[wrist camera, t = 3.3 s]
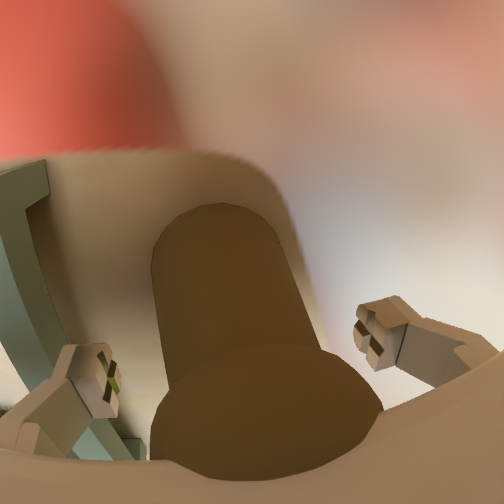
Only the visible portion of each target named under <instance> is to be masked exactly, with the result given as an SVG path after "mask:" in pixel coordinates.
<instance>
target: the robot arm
mask: <svg viewBox="0 0 504 504" xmlns="http://www.w3.org/2000/svg"><path fill="white" fill-rule="evenodd" d="M356 316H357V317H358V319H359V320H358V321H357V323H356V324H355V325H354V331H353V336H354V342H355V344H356V346H357V348H358V349H359V351H361V352H363V353H365V354H367V355H366V360H367V362H368V363H369V364H370V366H371V367H372V368H373V370H374V371H375V372H376V371H379V370H382V369H386V368H389V367H392V366H395V365H396V367H398V368H399V369H402V370H403V371H405V372H407V373H409V374H410V375H412V376H414V377H416V378H418V379H420V380H421V381H423V382H425V383H427V384H429V385H431V386H433V387H435V389H433V390H431V391H429V392H427V393H425V394H422V395H421V396H418V397H416V398H414V399H411V400H409V401H407V402H404V403H402V404H400V405H397V406H395V407H393V408H390V409H388V410H385V411H382V412H380V413H379V414H378V416H377V419H376V421H375V423H374V424H373V426H372V428H371V429H370V431H369V432H368V434H367V436H366V437H365V439H364V440H363V442H361V443H360V444H359V445H357V446H356V447H355V448H353V449H352V450H351V451H349V452H348V453H346V454H344V455H342V456H340V457H339V458H337V459H335V460H333V461H331V462H329V463H327V464H325V465H323V466H321V467H319V468H316V469H313V470H310V471H306V472H303V473H299V474H295V475H291V476H287V477H283V478H279V479H274V480H266V481H225V480H216V479H209V478H207V477H204V476H202V475H200V474H198V473H196V472H193V471H191V470H189V469H187V468H185V467H183V466H181V465H179V464H177V463H175V462H173V461H171V460H167V459H164V460H140V461H108V460H85V459H71V458H66V456H67V454H68V453H69V452H70V450H71V449H72V448H73V446H74V445H75V444H76V442H77V441H78V439H79V438H80V437H81V435H82V434H83V433H84V431H85V430H86V429H87V427H88V426H89V425H90V423H91V422H92V421H93V418H117V415H118V406H119V400H118V398H117V396H116V395H117V394H118V393H119V392H120V390H121V376H120V372H119V368H118V366H117V363H115V362H114V361H113V360H111V357H112V351H111V349H110V346H109V345H108V344H107V343H92V344H71V345H65V346H63V348H62V350H61V352H60V355H59V358H58V360H57V363H56V365H55V368H54V371H53V373H52V376H51V379H46V380H45V381H43V382H42V383H41V384H40V385H39V386H37V387H36V388H35V389H34V390H33V391H31V392H30V393H29V394H28V395H27V396H25V397H24V398H23V399H22V400H21V401H20V402H18V403H17V404H16V405H15V406H14V407H13V408H11V409H10V410H9V411H8V412H7V413H6V414H4V415H3V416H2V417H1V419H0V504H504V350H503V351H501V352H499V351H497V349H496V348H494V347H493V346H492V345H491V344H490V343H489V342H488V341H487V340H486V339H485V338H483V337H482V336H481V335H479V334H476V333H473V332H470V331H467V330H464V329H461V328H457V327H454V326H451V325H448V324H445V323H442V322H439V321H436V320H433V319H429V318H422V317H421V316H420V315H419V314H418V313H417V312H415V311H414V310H413V309H412V308H411V307H410V306H409V305H408V304H407V303H405V301H403V300H402V299H401V298H400V297H399V296H395V295H394V296H391V297H387V298H384V299H382V300H378V301H373V302H369V303H365V304H360V305H359V306H358V308H357V311H356Z"/></svg>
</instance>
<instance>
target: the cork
mask: <svg viewBox="0 0 504 504" xmlns="http://www.w3.org/2000/svg"><path fill="white" fill-rule="evenodd" d="M151 272H152V281H153V290H154V298H155V305H156V313H157V320H158V327H159V333H160V340H161V346H162V352H163V357H164V363H165V369H166V374H167V379H168V384H169V389H170V390H169V391H168V393H167V394H166V396H165V397H164V398H163V400H162V401H161V403H160V404H159V406H158V408H157V411H156V414H155V417H154V419H153V422H152V425H151V434H150V460H164V459H167V460H171V461H173V462H175V463H177V464H179V465H181V466H183V467H185V468H187V469H189V470H191V471H193V472H196V473H198V474H200V475H202V476H204V477H207V478H209V479H216V480H225V481H266V480H274V479H279V478H283V477H287V476H291V475H295V474H299V473H303V472H306V471H310V470H313V469H316V468H319V467H321V466H323V465H325V464H327V463H329V462H331V461H333V460H335V459H337V458H339V457H340V456H342V455H344V454H346V453H348V452H349V451H351V450H352V449H353V448H355V447H356V446H357V445H359V444H360V443H361V442H363V440H364V439H365V437H366V436H367V434H368V432H369V431H370V429H371V428H372V426H373V424H374V423H375V421H376V419H377V416H378V414H379V413H380V412H382V411H384V409H383V406H382V402H381V401H380V399H379V398H378V396H377V395H376V394H375V392H374V391H373V390H372V388H371V387H370V385H369V384H368V383H367V382H366V381H365V380H364V378H363V377H362V376H361V375H360V374H359V373H358V372H357V371H356V370H355V369H353V368H352V367H351V366H350V365H349V364H347V363H346V362H345V361H344V360H342V359H341V358H340V357H338V356H337V355H334V354H331V353H329V352H326V351H323V350H321V348H320V345H319V342H318V340H317V337H316V335H315V332H314V329H313V327H312V324H311V321H310V319H309V316H308V314H307V311H306V309H305V306H304V303H303V301H302V298H301V296H300V293H299V291H298V288H297V286H296V283H295V281H294V278H293V275H292V273H291V270H290V268H289V265H288V263H287V260H286V258H285V255H284V253H283V251H282V248H281V246H280V243H279V241H278V238H277V236H276V233H275V232H274V231H273V230H272V228H271V227H270V226H269V225H268V224H267V223H266V221H265V220H264V219H263V218H262V217H260V216H258V215H257V214H255V213H253V212H251V211H250V210H248V209H246V208H244V207H239V206H235V205H230V204H225V203H220V204H211V205H203V206H199V207H197V208H194V209H192V210H190V211H188V212H186V213H183V214H181V215H179V216H178V217H177V218H176V219H175V220H174V221H173V222H172V223H171V224H170V225H169V226H168V227H166V228H165V229H164V230H163V232H162V234H161V236H160V238H159V240H158V242H157V243H156V245H155V247H154V251H153V258H152V265H151Z"/></svg>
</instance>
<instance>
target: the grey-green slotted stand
mask: <svg viewBox="0 0 504 504" xmlns="http://www.w3.org/2000/svg"><path fill="white" fill-rule="evenodd" d="M48 194H50V190H49V184H48V178H47V172H46V165H45V160H41V161H37V162H33V163H30V164H26V165H22V166H19V167H16V168H12V169H9V170H6V171H2V172H0V341H1V343H2V345H3V347H4V349H5V351H6V353H7V355H8V356H9V358H10V360H11V362H12V364H13V365H14V367H15V369H16V371H17V372H18V374H19V376H20V377H21V379H22V381H23V382H24V384H25V385H26V387H27V389H28V390H29V392H31V391H33V390H34V389H35V388H36V387H37V386H39V385H40V384H41V383H42V382H43V381H45V380H46V379H51V376H52V373H53V371H54V368H55V365H56V363H57V360H58V358H59V355H60V352H61V350H62V348H63V346H65V345H69V343H68V340H67V338H66V336H65V333H64V331H63V329H62V326H61V324H60V321H59V319H58V316H57V314H56V311H55V308H54V306H53V303H52V300H51V298H50V295H49V292H48V289H47V286H46V283H45V280H44V277H43V274H42V271H41V268H40V265H39V261H38V258H37V255H36V251H35V248H34V244H33V240H32V236H31V232H30V228H29V224H28V220H27V216H26V211H25V209H26V208H28V207H30V206H31V205H33V204H34V203H36V202H37V201H39V200H40V199H42V198H44V197H45V196H47V195H48ZM66 458H71V459H85V460H108V461H140V460H146V447H145V446H144V444H143V442H142V441H141V439H120V437H119V436H118V434H117V433H116V431H115V429H114V428H113V426H112V425H111V423H110V421H109V420H108V418H93V421H92V422H91V423H90V425H89V426H88V427H87V429H86V430H85V431H84V433H83V434H82V435H81V437H80V438H79V439H78V441H77V442H76V444H75V445H74V446H73V448H72V449H71V450H70V452H69V453H68V454H67V456H66Z"/></svg>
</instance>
